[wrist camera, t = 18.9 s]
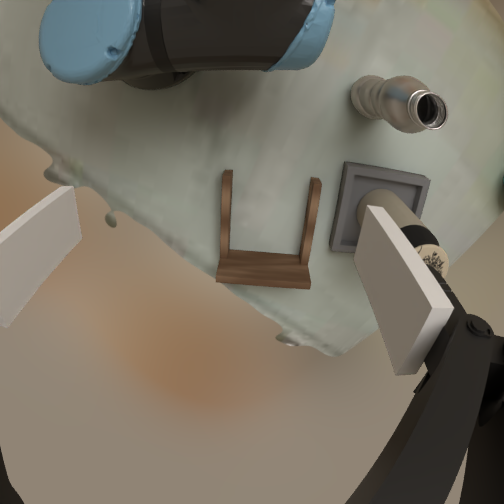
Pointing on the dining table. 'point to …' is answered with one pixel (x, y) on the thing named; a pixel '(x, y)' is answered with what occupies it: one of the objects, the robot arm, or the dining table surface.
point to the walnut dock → (262, 263)
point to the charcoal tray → (362, 182)
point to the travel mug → (407, 227)
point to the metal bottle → (399, 103)
